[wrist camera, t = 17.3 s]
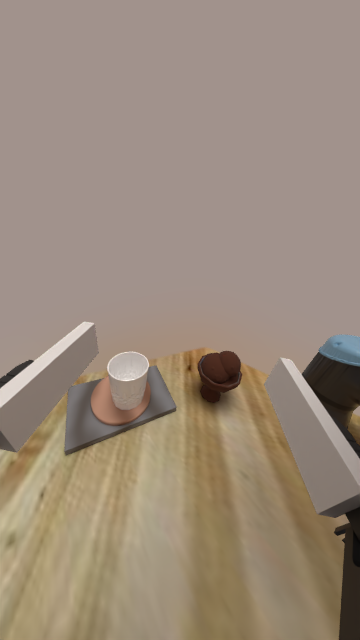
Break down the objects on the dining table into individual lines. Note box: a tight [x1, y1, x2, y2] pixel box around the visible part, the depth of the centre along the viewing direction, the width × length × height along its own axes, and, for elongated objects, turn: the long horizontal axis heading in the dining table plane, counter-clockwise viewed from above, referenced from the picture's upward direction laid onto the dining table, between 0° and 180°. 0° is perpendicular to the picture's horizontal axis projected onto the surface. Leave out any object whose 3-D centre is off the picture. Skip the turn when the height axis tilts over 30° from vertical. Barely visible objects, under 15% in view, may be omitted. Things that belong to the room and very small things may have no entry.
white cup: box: [107, 352, 149, 410], centre depth 35 cm, size 8×8×10 cm
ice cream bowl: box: [198, 351, 242, 403], centre depth 42 cm, size 11×11×15 cm
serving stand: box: [65, 366, 176, 455], centre depth 39 cm, size 22×14×3 cm, turn 117°
